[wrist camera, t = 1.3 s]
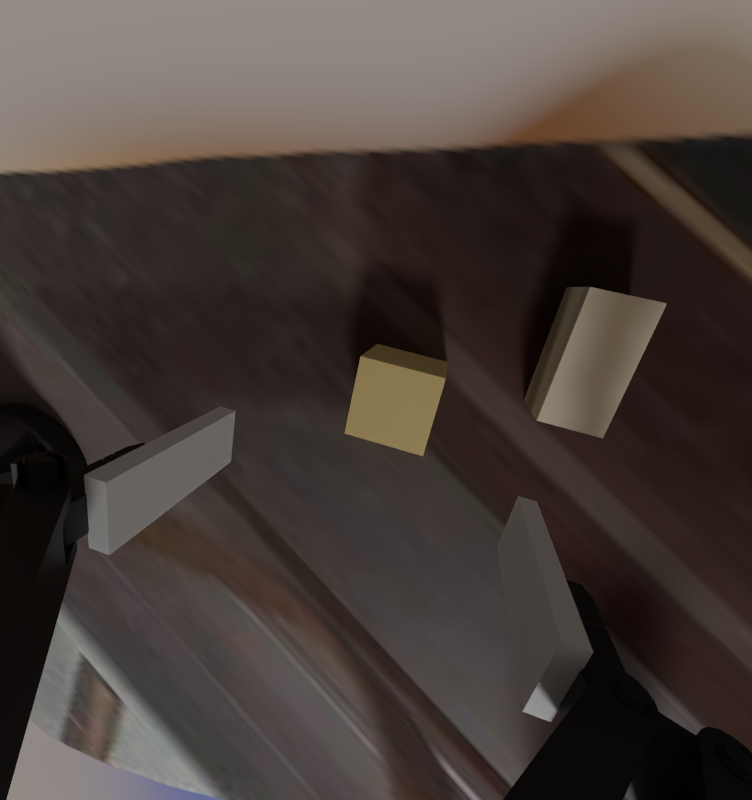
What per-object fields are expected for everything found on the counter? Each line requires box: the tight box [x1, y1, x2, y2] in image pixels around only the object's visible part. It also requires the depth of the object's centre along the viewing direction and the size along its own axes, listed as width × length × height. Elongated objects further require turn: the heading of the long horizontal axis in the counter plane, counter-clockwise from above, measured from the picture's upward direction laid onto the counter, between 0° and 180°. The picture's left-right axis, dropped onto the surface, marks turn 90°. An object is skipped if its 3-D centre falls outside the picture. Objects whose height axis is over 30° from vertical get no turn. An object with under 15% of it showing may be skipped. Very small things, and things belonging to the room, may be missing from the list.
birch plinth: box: [524, 287, 666, 438], centre depth 25 cm, size 4×9×5 cm, turn 168°
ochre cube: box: [345, 344, 447, 456], centre depth 28 cm, size 6×6×6 cm
